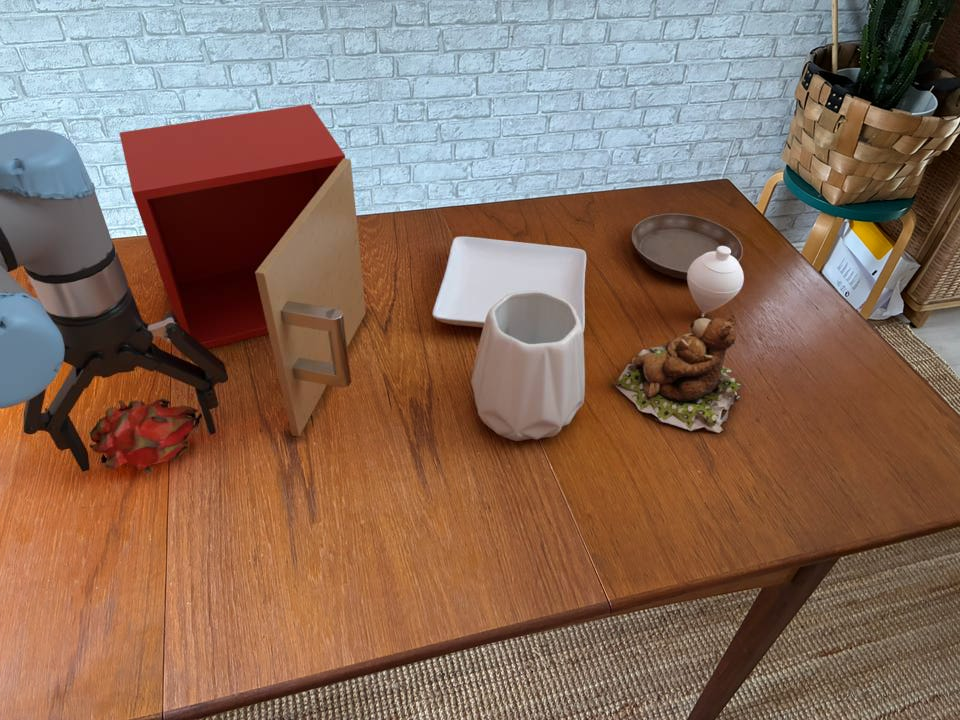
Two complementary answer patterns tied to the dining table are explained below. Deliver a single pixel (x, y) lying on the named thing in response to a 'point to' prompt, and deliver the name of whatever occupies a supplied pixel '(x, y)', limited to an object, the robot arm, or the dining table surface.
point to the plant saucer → (680, 242)
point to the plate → (506, 277)
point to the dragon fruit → (143, 433)
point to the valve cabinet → (225, 208)
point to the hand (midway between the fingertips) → (150, 444)
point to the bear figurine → (685, 377)
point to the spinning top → (714, 279)
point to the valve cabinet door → (314, 296)
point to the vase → (529, 366)
